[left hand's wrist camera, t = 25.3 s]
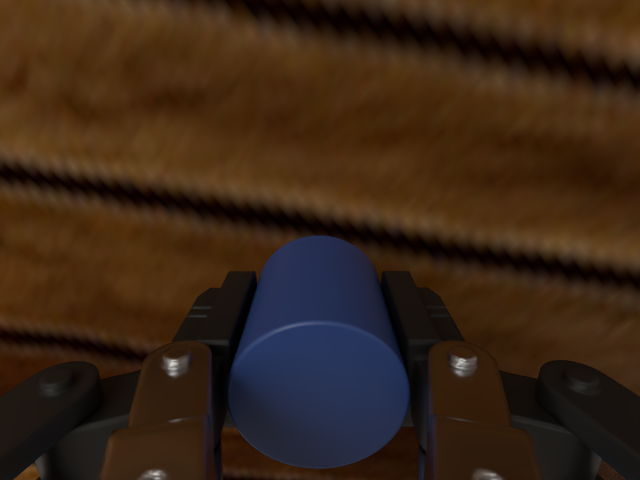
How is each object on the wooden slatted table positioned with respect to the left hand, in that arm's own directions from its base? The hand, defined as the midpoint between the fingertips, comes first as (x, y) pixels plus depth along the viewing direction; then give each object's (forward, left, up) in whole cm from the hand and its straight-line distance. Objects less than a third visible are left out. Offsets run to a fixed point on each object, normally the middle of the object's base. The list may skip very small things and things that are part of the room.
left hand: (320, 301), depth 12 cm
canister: (0, 0, -1) cm, 1 cm away
